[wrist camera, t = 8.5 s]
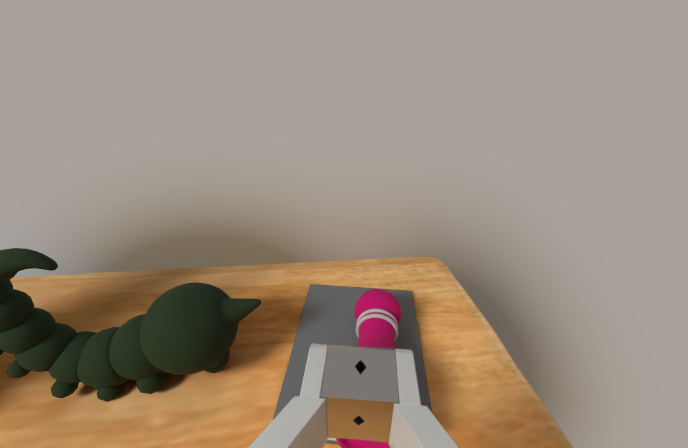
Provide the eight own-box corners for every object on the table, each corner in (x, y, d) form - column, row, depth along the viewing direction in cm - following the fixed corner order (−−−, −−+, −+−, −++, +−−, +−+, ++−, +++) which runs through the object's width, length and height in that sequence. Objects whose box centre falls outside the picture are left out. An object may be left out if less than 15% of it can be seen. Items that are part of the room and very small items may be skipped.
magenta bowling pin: (313, 442, 26) (344, 298, 44) (386, 477, 27) (387, 321, 45) (354, 395, 23) (369, 262, 41) (435, 436, 24) (414, 286, 42)
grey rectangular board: (437, 454, 28) (438, 450, 28) (269, 437, 29) (269, 434, 29) (411, 293, 48) (411, 290, 47) (310, 287, 49) (310, 284, 48)
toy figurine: (24, 440, 31) (274, 386, 33) (-140, 301, 21) (228, 243, 24) (78, 359, 39) (275, 322, 42) (-23, 233, 29) (242, 196, 32)
